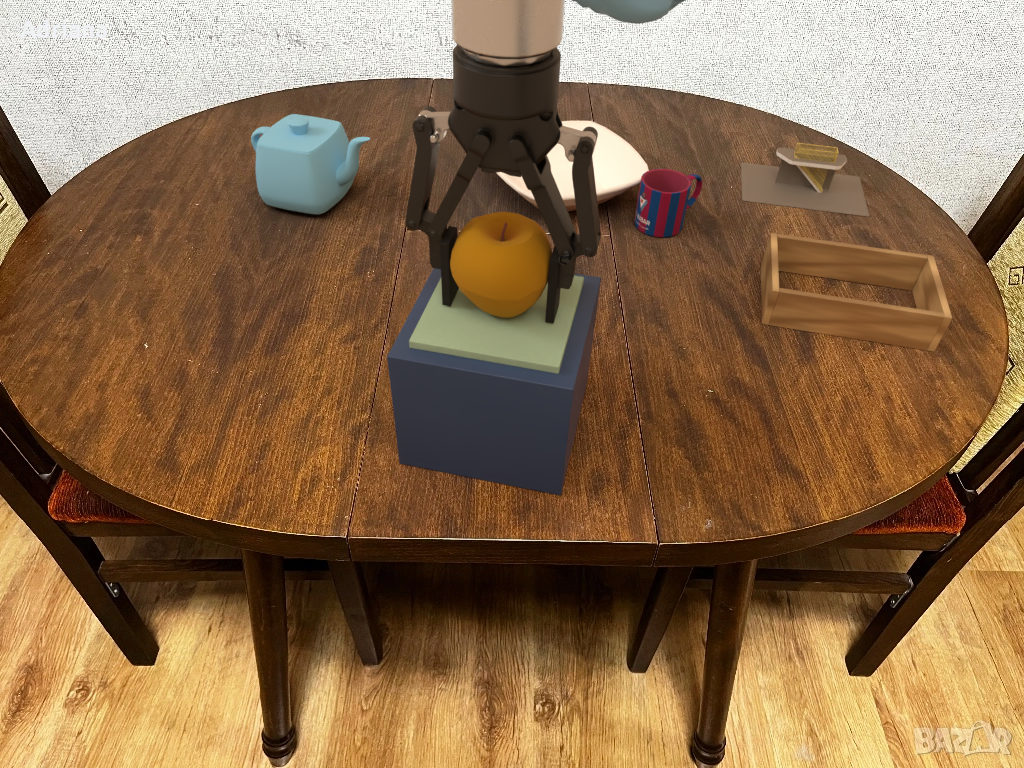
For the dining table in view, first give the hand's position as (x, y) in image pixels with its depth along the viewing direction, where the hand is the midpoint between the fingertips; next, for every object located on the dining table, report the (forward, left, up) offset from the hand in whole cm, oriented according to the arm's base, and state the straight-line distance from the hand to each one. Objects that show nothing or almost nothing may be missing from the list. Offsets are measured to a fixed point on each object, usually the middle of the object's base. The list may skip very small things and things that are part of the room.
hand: (500, 304), depth 68 cm
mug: (+43, -14, -15) cm, 48 cm away
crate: (0, 0, -15) cm, 15 cm away
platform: (+58, -33, -15) cm, 69 cm away
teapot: (+36, +35, -15) cm, 53 cm away
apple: (0, 0, 0) cm, 0 cm away
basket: (+29, -37, -15) cm, 49 cm away
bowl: (+48, +2, -15) cm, 50 cm away
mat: (0, 0, -1) cm, 1 cm away
